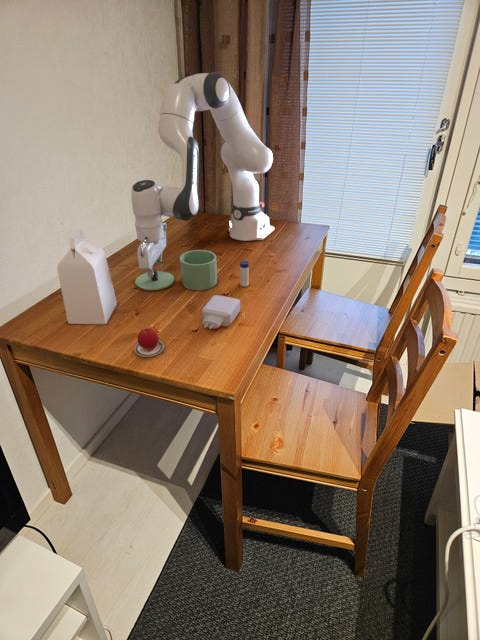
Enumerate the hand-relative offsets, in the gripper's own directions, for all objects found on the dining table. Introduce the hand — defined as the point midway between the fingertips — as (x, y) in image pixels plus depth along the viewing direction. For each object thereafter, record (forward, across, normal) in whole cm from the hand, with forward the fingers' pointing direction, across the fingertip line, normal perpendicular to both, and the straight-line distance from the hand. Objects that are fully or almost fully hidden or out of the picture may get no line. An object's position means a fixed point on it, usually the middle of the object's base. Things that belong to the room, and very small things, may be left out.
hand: (155, 269), depth 144 cm
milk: (+5, -23, +14) cm, 27 cm away
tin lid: (+4, 0, +1) cm, 4 cm away
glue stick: (+5, +2, -31) cm, 32 cm away
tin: (+5, +2, -15) cm, 16 cm away
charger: (+5, -23, -26) cm, 35 cm away
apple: (+5, -39, -10) cm, 40 cm away
